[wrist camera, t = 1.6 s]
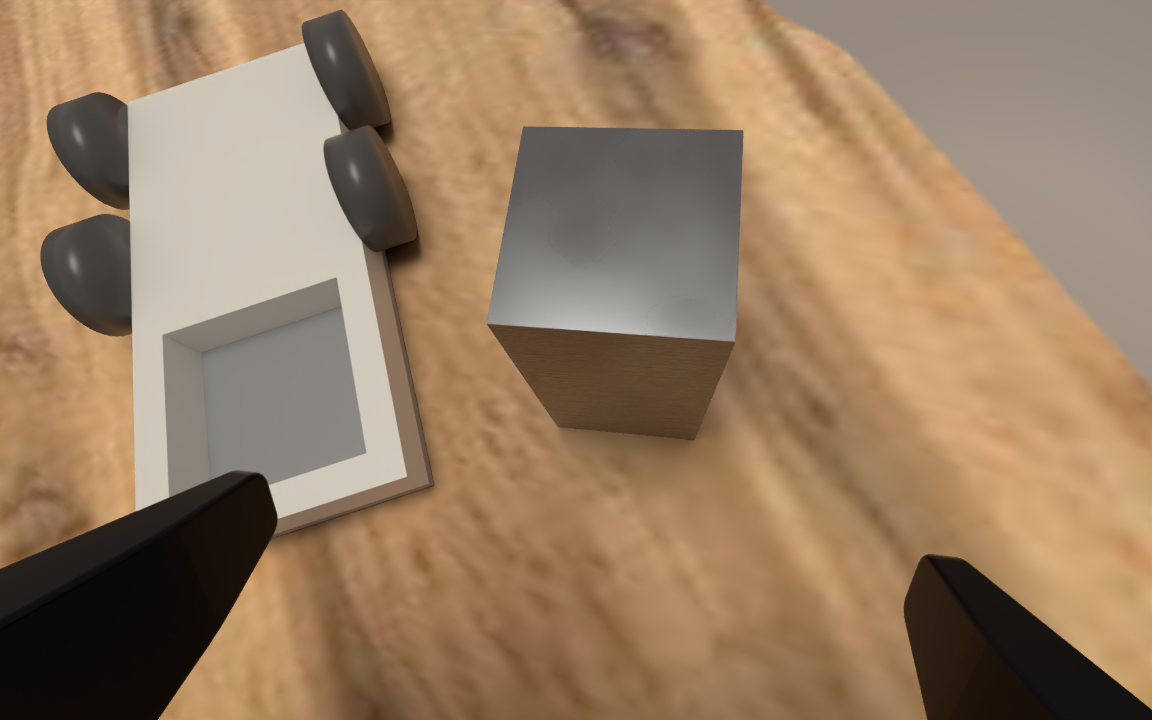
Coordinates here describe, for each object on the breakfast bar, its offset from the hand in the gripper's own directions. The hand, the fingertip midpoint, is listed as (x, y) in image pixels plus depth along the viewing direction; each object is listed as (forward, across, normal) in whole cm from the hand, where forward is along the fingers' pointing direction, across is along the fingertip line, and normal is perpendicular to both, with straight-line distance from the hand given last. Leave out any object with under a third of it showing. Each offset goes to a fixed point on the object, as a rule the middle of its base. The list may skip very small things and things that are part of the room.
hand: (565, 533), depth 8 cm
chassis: (+15, +15, +3) cm, 22 cm away
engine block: (+13, 0, +4) cm, 14 cm away
